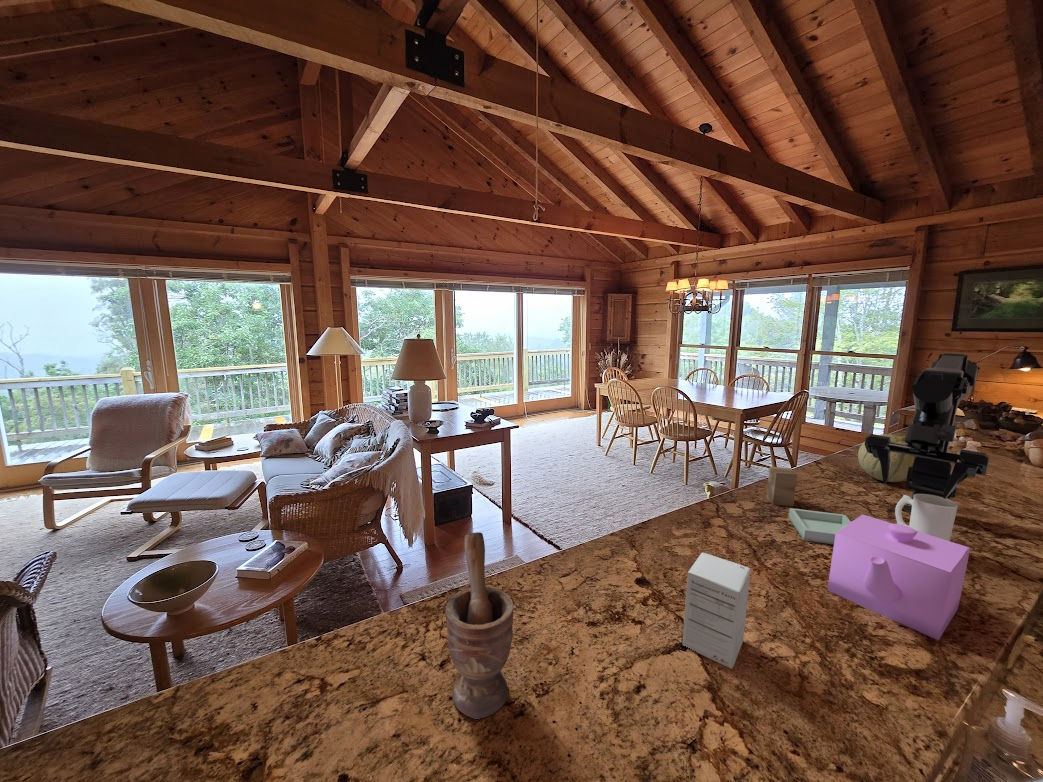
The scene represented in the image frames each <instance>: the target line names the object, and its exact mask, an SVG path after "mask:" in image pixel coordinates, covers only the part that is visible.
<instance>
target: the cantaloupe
mask: <svg viewBox="0 0 1043 782" xmlns="http://www.w3.org/2000/svg"><path fill="white" fill-rule="evenodd" d="M879 435H880V436H886V437H890V439H891V443H896V444H902V445H906V443H905V437H906V435H902V436H900V435H896V434H890V433H883V434H882V433H881V434H879ZM889 455H890V467H889V475H888V481H887V483H902V482H905V481H906V480H907V473H908V469H909V466H913V462H914V459H915V458H916V457H917V456H912V455H907V454H901V453H896V452H890V454H889ZM857 459H858V463H859V465H860V467H861V469H862V470H864V472H865V473H867V474H868V475H869V476H870V477H872V478H874V479H875V480H878V481H882V482H883V477H882V470H881V464H880V461H879V459H878V458H875V457H873V454H870V453H868V452H867V450H866V447H865V441H864V442H863V443H862V444H861V445H860V447H859V450H858V453H857Z"/></svg>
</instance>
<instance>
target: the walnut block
mask: <svg viewBox="0 0 1043 782" xmlns="http://www.w3.org/2000/svg"><path fill="white" fill-rule="evenodd" d="M768 472H769V473H768V479H767V486H766V487H767V489H766V497H765V498H767V500H769V502H770V504H772V505H776V506H787V507H794V501H795V494H796V486H797V478H798V474H797V473H796V472H795V471H794V470H793V469H792V468H791V467H779V466H769V469H768Z"/></svg>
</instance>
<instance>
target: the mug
mask: <svg viewBox="0 0 1043 782" xmlns="http://www.w3.org/2000/svg"><path fill="white" fill-rule="evenodd" d="M907 504H909V505H912V510H911V513H910V517H909V518H910V519H909V525H908V524H907V523H906V522H905V521H904V519H903V515H902V510H903V508H904V507H903V506H904V505H907ZM958 505H959V504H958V503H956V502H955V501H953V500H951V499H949V498H946V499H943V498H942V497H939V496H934V495H929V494H915V495H914V498H913V499H912V496H908V495H907V494H903V495H902V497H901V498H900V500H899V501H898V502H897V504H896V506H895V509H894V512H895V513H894V515H895V519H896V524H901V525H905V526H908V527H911V528H913V529H914V530H917V531H919V532H921V533H924V534H928V535H931V536H934V537H937V538H941V539H944V540H947V541H950V542H951V537H952V533H953V529H954V524H955V519H956V516H957V512H958Z"/></svg>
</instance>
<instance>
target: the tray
mask: <svg viewBox="0 0 1043 782" xmlns="http://www.w3.org/2000/svg"><path fill="white" fill-rule="evenodd" d="M788 519H789V520H790V522H791V523H792V525H793V526H794V527H795V529H796V531H797V532H798V534H799V535H800V537H801V538H802V540H803V541H808V542H814V543H818V544H819V543H821V544H829V545H834V540H835V534H836V533H837V532H838V531H840V530H841V529H842V528H844V527H845V526H847V525H848V524H849V523H851V522H852V520H850V519H849V518H848V517H847V516H846V515H845V514H841V513H835V512H834V513H832V512H825V511H816V510H809V509H808V510H807V509H802V508H801V509H800V508H791V507H789V509H788Z"/></svg>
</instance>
